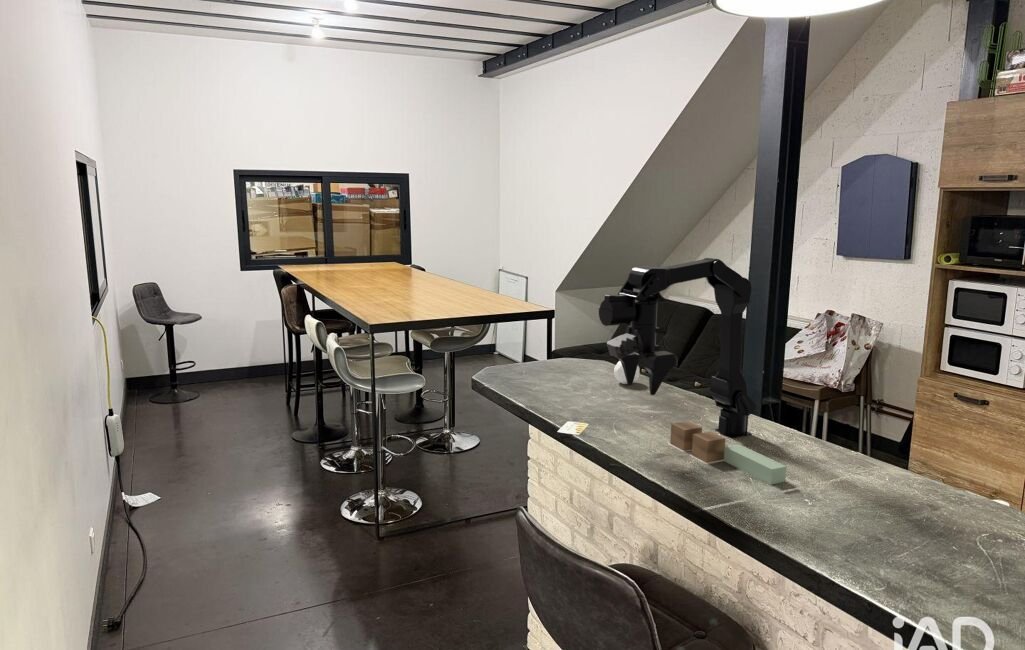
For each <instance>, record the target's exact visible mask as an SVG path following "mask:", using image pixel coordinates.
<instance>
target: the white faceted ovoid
mask: <svg viewBox="0 0 1025 650" xmlns="http://www.w3.org/2000/svg"><path fill="white" fill-rule="evenodd" d="M613 370H614V372H613V374H614V377H615V379H616V380H617V381H618V382H619V383H621V384H622V385H628V384H627V381H626V377H625V373H624V370H623V366H622V364H621V361H620V360H618V362H617V363H616V364H615V366H614V369H613ZM639 377H640V366H639V365H638V366H637V369H636V373H635V377H634V380H633V383H635V382H637V380H638V378H639Z"/></svg>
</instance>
